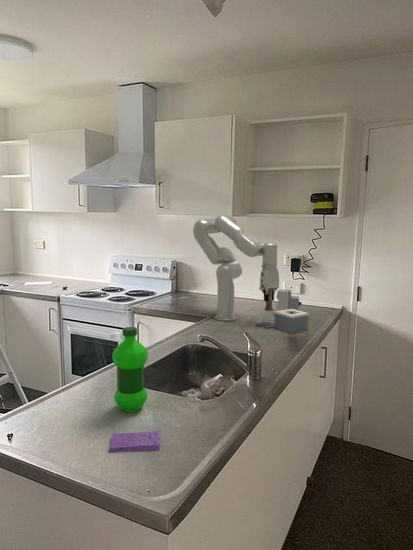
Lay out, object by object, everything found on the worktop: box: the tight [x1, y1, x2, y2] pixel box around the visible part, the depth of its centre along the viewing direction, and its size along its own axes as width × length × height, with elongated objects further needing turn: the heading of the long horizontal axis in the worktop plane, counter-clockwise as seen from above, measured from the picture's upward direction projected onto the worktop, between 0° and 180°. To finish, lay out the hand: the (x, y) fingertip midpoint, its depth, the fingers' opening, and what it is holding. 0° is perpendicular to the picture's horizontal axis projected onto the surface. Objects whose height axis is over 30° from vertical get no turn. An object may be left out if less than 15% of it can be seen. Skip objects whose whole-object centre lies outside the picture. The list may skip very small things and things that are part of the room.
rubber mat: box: [255, 321, 275, 330], centre depth 225 cm, size 9×9×1 cm
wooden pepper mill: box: [264, 288, 274, 312], centre depth 223 cm, size 4×4×14 cm
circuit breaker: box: [275, 288, 302, 311], centre depth 247 cm, size 8×14×15 cm, turn 78°
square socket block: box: [274, 309, 309, 334], centre depth 218 cm, size 12×12×9 cm
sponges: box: [109, 430, 161, 453], centre depth 109 cm, size 7×13×2 cm, turn 96°
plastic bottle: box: [111, 326, 149, 413], centre depth 126 cm, size 10×10×25 cm
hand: (268, 300), depth 223 cm, fingers closed on wooden pepper mill, 3 cm apart
